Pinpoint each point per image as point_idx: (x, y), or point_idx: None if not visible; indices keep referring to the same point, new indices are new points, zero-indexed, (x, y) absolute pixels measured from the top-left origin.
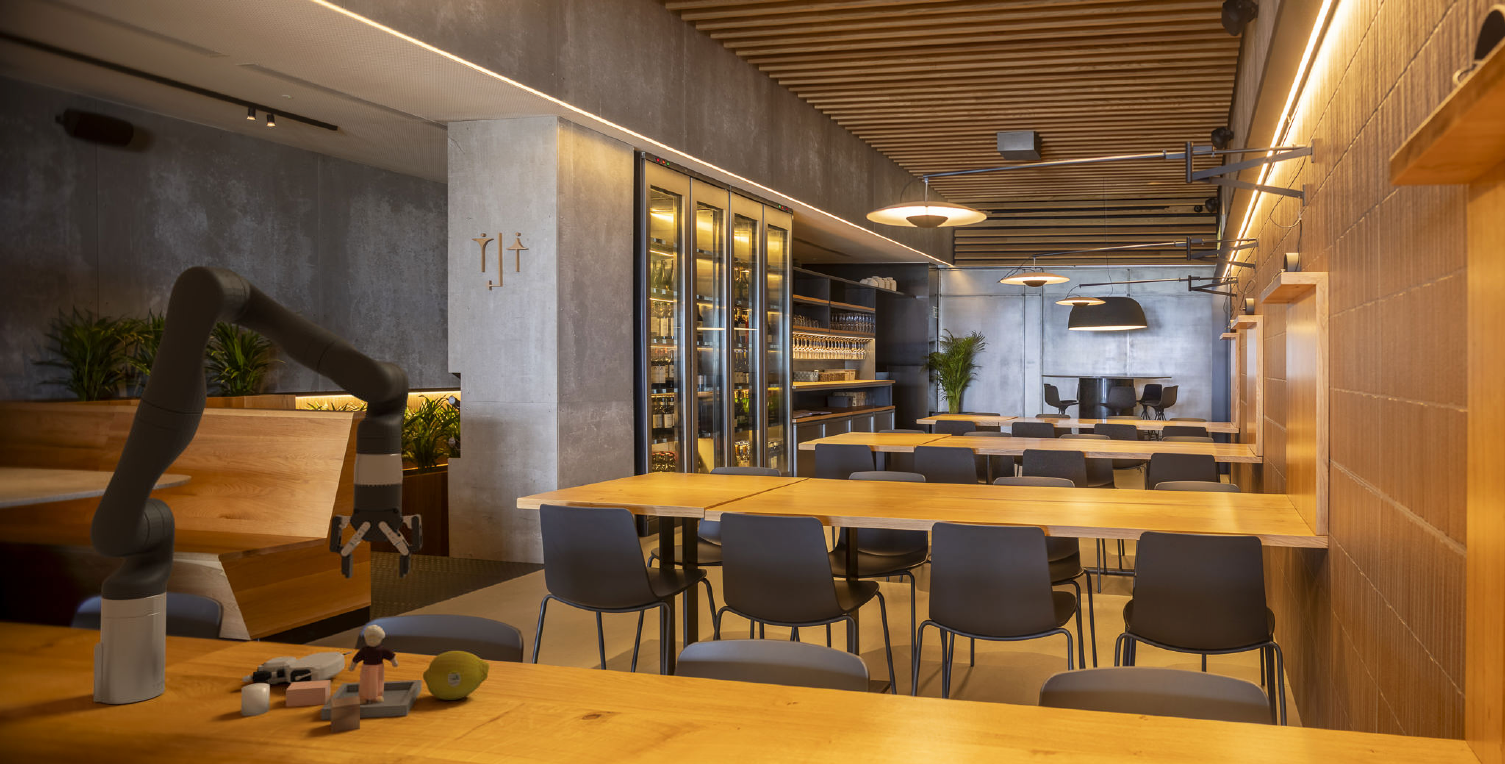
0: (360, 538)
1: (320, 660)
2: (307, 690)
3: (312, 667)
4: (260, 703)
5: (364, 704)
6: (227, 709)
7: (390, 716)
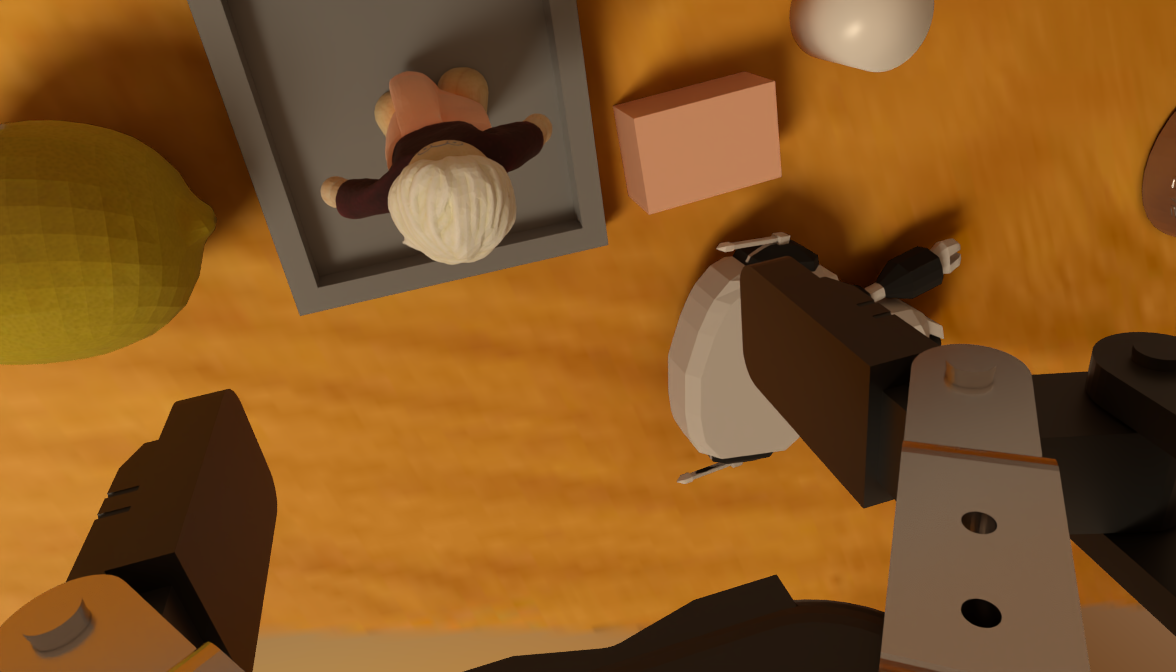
0: (895, 545)
1: None
2: (697, 100)
3: None
4: None
5: (438, 69)
6: (928, 34)
7: None
